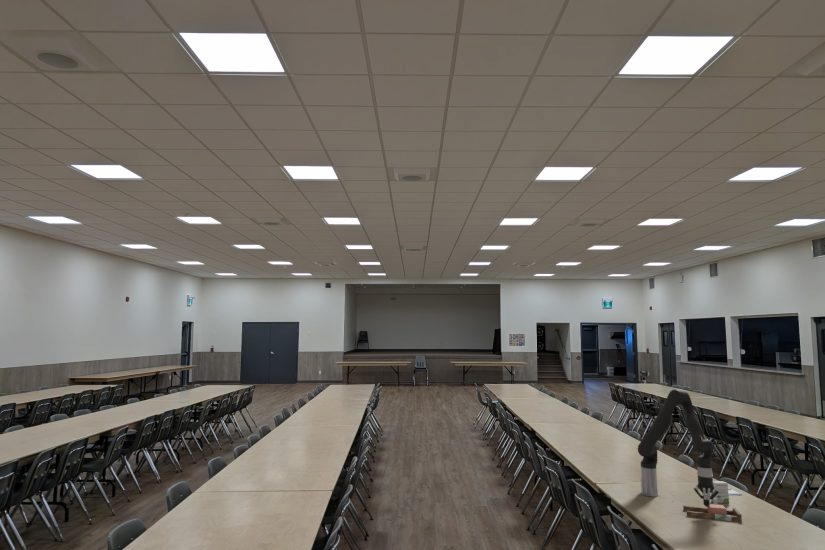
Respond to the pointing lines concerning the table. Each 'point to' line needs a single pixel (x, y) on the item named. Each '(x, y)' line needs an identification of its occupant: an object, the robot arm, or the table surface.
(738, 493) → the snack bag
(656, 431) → the robot arm
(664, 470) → the table surface
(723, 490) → the ink box
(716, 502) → the post
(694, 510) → the slot track
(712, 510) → the block
